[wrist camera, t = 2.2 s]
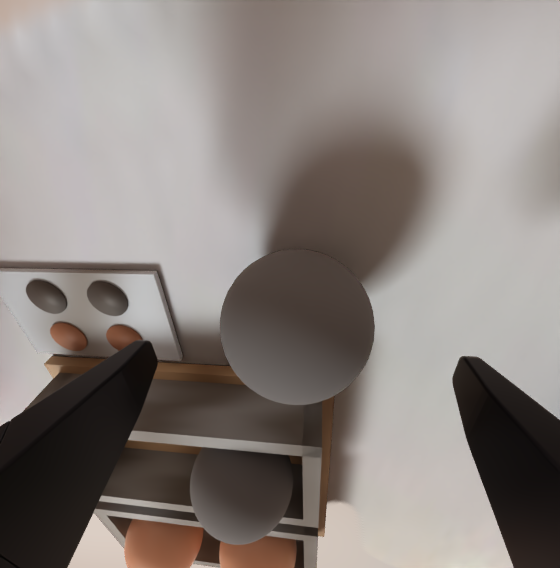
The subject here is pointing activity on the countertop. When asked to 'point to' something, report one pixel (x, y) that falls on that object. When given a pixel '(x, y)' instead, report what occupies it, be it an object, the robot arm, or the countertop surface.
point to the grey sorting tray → (169, 403)
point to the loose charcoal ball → (297, 327)
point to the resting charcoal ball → (240, 493)
